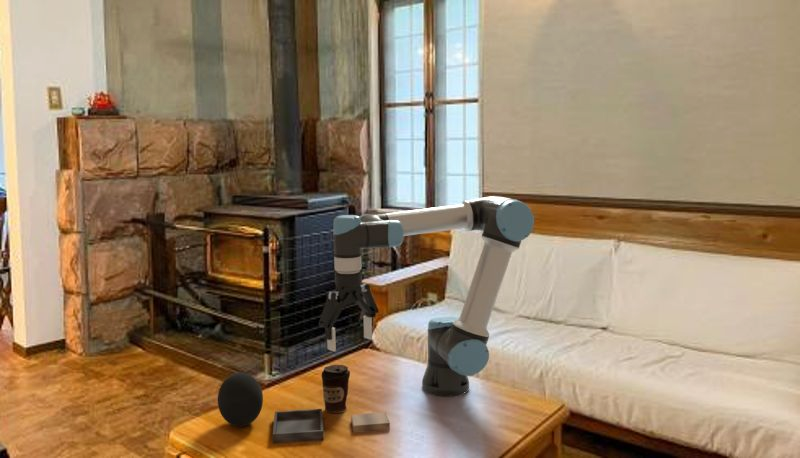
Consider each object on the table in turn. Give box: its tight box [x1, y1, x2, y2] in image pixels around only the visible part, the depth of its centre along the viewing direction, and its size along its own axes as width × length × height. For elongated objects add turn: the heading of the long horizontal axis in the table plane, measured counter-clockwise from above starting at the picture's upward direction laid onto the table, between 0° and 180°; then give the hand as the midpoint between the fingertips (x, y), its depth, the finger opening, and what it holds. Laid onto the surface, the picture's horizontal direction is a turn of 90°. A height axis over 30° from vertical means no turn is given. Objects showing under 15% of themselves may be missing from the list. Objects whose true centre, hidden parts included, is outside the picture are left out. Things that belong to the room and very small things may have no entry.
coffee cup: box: [321, 364, 351, 414], centre depth 193 cm, size 9×8×13 cm
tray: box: [272, 408, 325, 444], centre depth 181 cm, size 13×14×2 cm
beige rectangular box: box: [350, 412, 391, 434], centre depth 184 cm, size 10×7×2 cm
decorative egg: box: [217, 372, 264, 427], centre depth 183 cm, size 12×12×15 cm
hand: (350, 344), depth 185 cm, fingers open, 13 cm apart
